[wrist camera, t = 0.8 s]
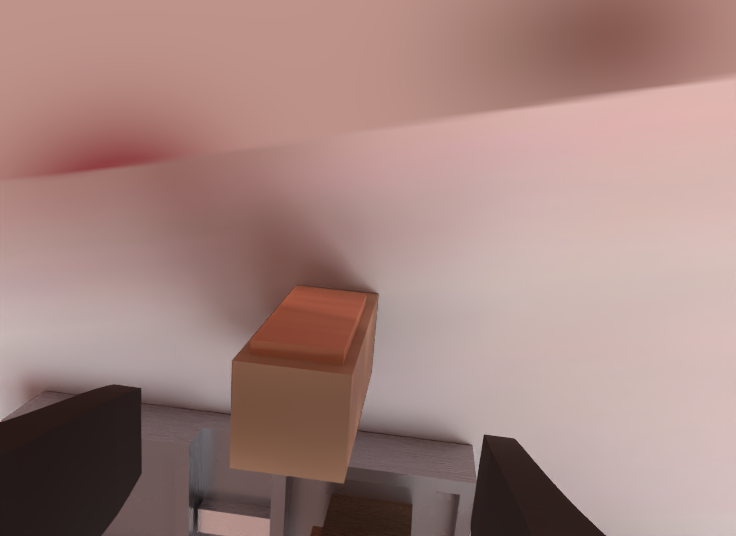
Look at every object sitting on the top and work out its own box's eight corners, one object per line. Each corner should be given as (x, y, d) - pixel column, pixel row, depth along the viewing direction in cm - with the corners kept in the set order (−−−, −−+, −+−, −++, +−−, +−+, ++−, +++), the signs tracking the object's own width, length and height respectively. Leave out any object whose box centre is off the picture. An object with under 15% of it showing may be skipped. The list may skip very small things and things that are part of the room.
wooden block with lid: (371, 371, 22) (343, 483, 15) (292, 361, 22) (229, 468, 15) (379, 283, 21) (353, 359, 14) (297, 274, 21) (232, 345, 14)
